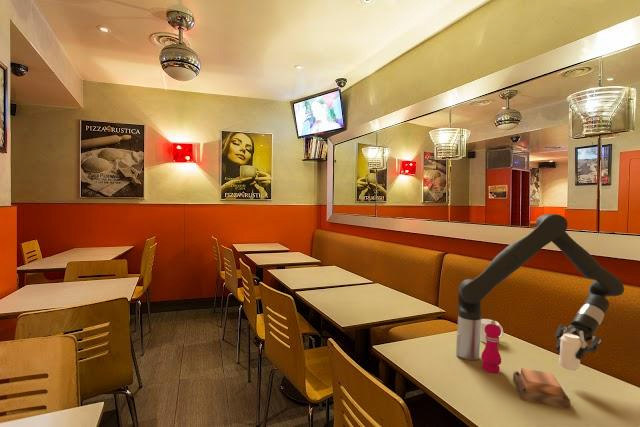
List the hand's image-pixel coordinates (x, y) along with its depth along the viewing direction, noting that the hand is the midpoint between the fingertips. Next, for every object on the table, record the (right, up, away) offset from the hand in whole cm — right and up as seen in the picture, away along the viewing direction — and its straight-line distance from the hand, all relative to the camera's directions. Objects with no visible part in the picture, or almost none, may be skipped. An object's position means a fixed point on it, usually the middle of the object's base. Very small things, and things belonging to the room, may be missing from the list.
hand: (567, 353), depth 127 cm
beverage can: (+1, -6, +1) cm, 6 cm away
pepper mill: (-23, -11, +12) cm, 28 cm away
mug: (-7, -11, +42) cm, 44 cm away
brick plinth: (-14, -12, -5) cm, 19 cm away
